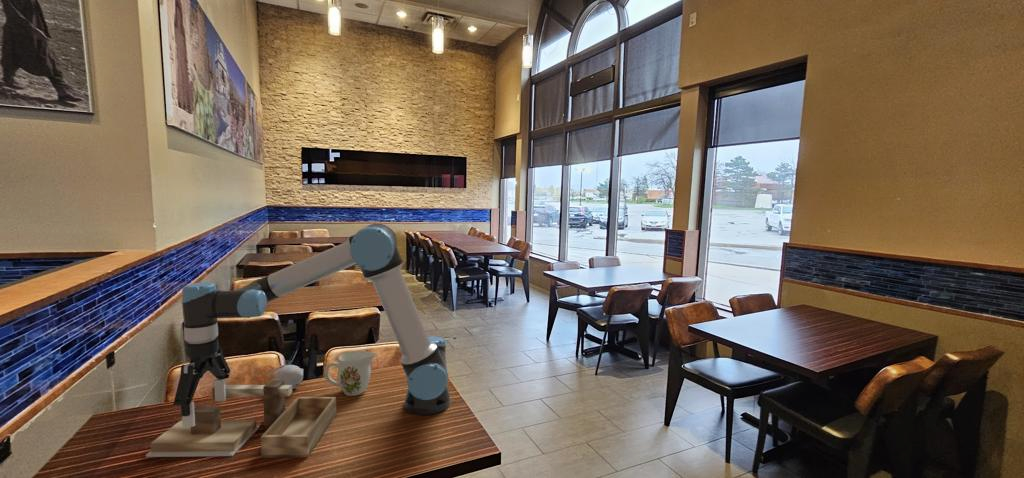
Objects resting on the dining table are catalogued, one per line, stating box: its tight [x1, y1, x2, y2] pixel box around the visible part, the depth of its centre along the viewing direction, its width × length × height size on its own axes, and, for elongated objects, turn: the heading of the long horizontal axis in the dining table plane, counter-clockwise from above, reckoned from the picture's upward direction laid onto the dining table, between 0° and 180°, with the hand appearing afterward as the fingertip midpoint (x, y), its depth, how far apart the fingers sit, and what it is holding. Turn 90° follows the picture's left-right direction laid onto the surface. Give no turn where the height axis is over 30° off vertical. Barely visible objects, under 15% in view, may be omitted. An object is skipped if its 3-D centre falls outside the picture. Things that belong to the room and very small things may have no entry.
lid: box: [150, 405, 257, 452], centre depth 119 cm, size 12×21×9 cm, turn 94°
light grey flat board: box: [145, 424, 261, 458], centre depth 120 cm, size 22×14×1 cm, turn 94°
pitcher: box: [324, 350, 378, 397], centre depth 151 cm, size 11×18×14 cm, turn 96°
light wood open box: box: [260, 379, 337, 459], centre depth 124 cm, size 19×22×12 cm
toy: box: [267, 364, 304, 390], centre depth 153 cm, size 13×9×15 cm
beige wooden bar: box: [211, 384, 293, 399], centre depth 129 cm, size 22×3×3 cm, turn 94°
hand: (205, 412), depth 119 cm, fingers open, 13 cm apart
